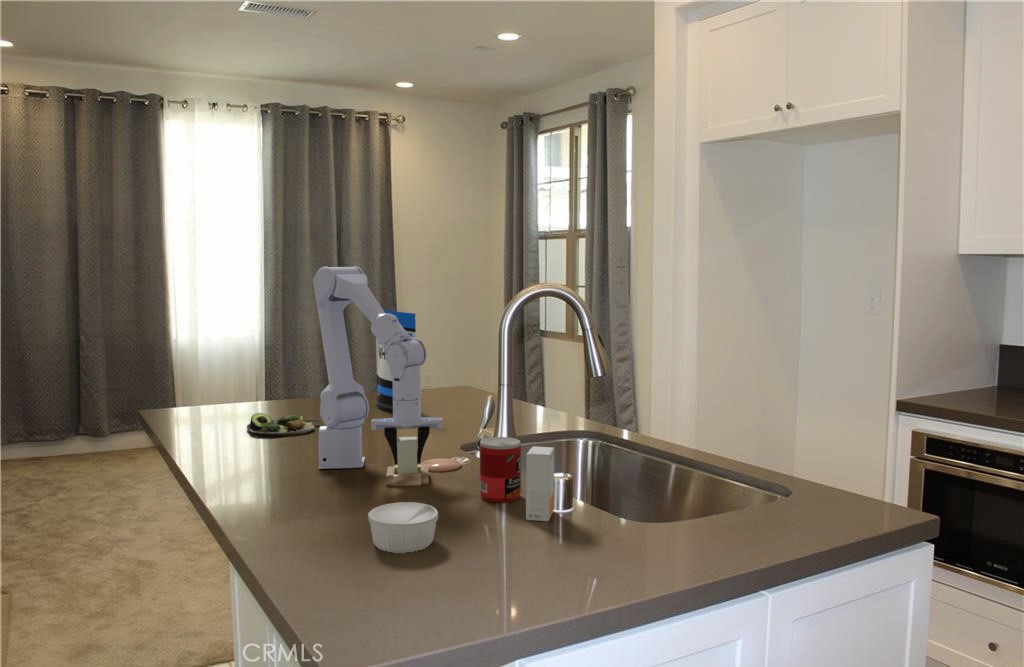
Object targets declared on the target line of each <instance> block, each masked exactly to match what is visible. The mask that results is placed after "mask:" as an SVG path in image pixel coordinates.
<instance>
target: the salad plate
mask: <svg viewBox="0 0 1024 667" xmlns="http://www.w3.org/2000/svg"><path fill="white" fill-rule="evenodd" d="M321 420H322V419H321ZM321 420H320V419H304V418H303V415H301V416H298V415H297V414H295V415H290V414H289V415H288V414H287V415H284V416H281V417H280V418H279V419H273V418H272V417H271V416H270V415H269V414H266V413H263V412H257V413H254V414H253V415H252V416H251V418H250V423H248V424H247V426H246V430H247V433H250V434H249V435H250V436H251V435H252V436H251V437H254V436H257V437H256V438H263V437H268V438H278V437H279V436H281V437H287V436H286V435H290V436H295V435H296V434H297V435H302V434H307V433H310V432H313V430H314V429H315V425H314V424H316V423H321ZM298 429H301V430H298ZM291 430H296V431H291ZM287 431H289V432H287ZM279 438H280V437H279Z"/></svg>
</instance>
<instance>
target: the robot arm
mask: <svg viewBox="0 0 1024 667" xmlns="http://www.w3.org/2000/svg"><path fill="white" fill-rule="evenodd" d="M368 282H369V280H368V276H367V275H366V274H365V273H364V272H363V269H362V268H361V267H359V266H355V265H354V266H344V267H343V266H332V267H330V266H329V267H328V266H321V267H320V268H318V270H317V272H316V274H315V275H314V277H313V279H312V284H313V289H314V290H313V291H314V296H315V302H316V303H315V304H316V306H317V314H318V320H319V327H320V333H321V338H322V340H321V341H322V346H323V353H324V357H325V358H324V359H325V365H326V370H327V378H328V385H327V386H326V387H325V388H324V389H323V390H322V392H321V393H320V394H319V396H320V406H319V415H320V419H321V420H322V422H323V423H324V424H325V425H321V426H319V429H318V469H319V470H323V469H324V470H326V469H327V470H329V469H331V470H332V469H358V468H359V469H361V468H363V467H364V464H365V461H366V456H363V443H362V442H363V440H362V439H363V436H362V432H363V430H362V425H363V424H365V420H366V418H367V417H368V415H369V412H370V404H369V401H368V398H367V396H366V395H365V390H364V387H363V386H362V385H361V384H360V383H358V382H357V381H356V380H355V379H354V373H353V368H352V360H351V355H350V348H349V341H348V336H347V329H346V323H345V317H344V310H345V309H346V307H347V305H349V304H351V303H352V302H353V303H354V304H355V306H356V307H358V309H359V310H360V311H361V312H362V314H363V315H364V316H365V317H366V318H367V320H369V321H370V323H371V325H370V330H371V333H372V334H373V336H374V337H375V339H376V338H377V340H378V341H379V342H380V344H381V345H382V346H383V348H384V349H385V350H386V352H387V354H386V360H387V363H388V365H389V367H390V374H391V377H393V413H392V417H387V418H386V417H385V418H374V419H371V423H370V426H371V427H370V428H371V431H377V430H383V432H384V434H383V435H384V436H385V439H386V441H387V443H388V446H389V448H390V451H391V454H392V457H393V464H394V465H398V463H397V440H398V430H414V429H417V465H420V463H421V462H422V461H421V459H422V456H423V455H422V454H423V450H424V448H425V445H426V442H427V440H428V439H429V435H430V432H431V431H430V429H437V430H439V429H440V430H443V418H442V417H425V416H422V414H421V412H422V408H421V407H422V404H421V402H422V399H421V398H422V395H421V392H422V391H421V390H422V389H421V388H422V387H421V386H422V385H421V384H422V383H421V366H423V365H424V364H425V362H426V359H427V350H426V347H425V344H424V343H423V341H422V340H420V339H419V338H416V339H414V338H413V337H411V336H409V334H408V333H407V332H406V331H405V330H404V328H403V327H402V326H401V324H400V323H399V322H398V321H397V320H398V318H397V317H396V316H395V315H392V314H389V313H386V314H385V312H384V311H383V310H384V309H383V308H382V307H381V304H380V302H378V300H377V298H376V297H375V295H374V294H373V292H372V291H371V289H370V288H369V286H368ZM343 394H346V395H343Z"/></svg>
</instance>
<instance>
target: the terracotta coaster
mask: <svg viewBox="0 0 1024 667" xmlns="http://www.w3.org/2000/svg"><path fill="white" fill-rule="evenodd" d="M419 465H421V466H425V465H428V472H433V473H443V472H451V471H456V470H458V469H460V468H461V466H462V463H461V461H459V460H457V459H453V458H431V459H426V460H424V461H421V462H420V464H419Z"/></svg>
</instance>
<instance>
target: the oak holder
mask: <svg viewBox="0 0 1024 667" xmlns="http://www.w3.org/2000/svg"><path fill="white" fill-rule="evenodd" d="M394 465H395V464H394ZM394 465H392V466H387V471H386V475H385V476H386V477H385V479H386V484H385V485H386V486H394V487H401V486H402V487H405V486H407V487H408V486H422V485H429V471H428V465H425V466H421V465H420V464H417V474H398V464H397V465H395V466H394Z"/></svg>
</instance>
